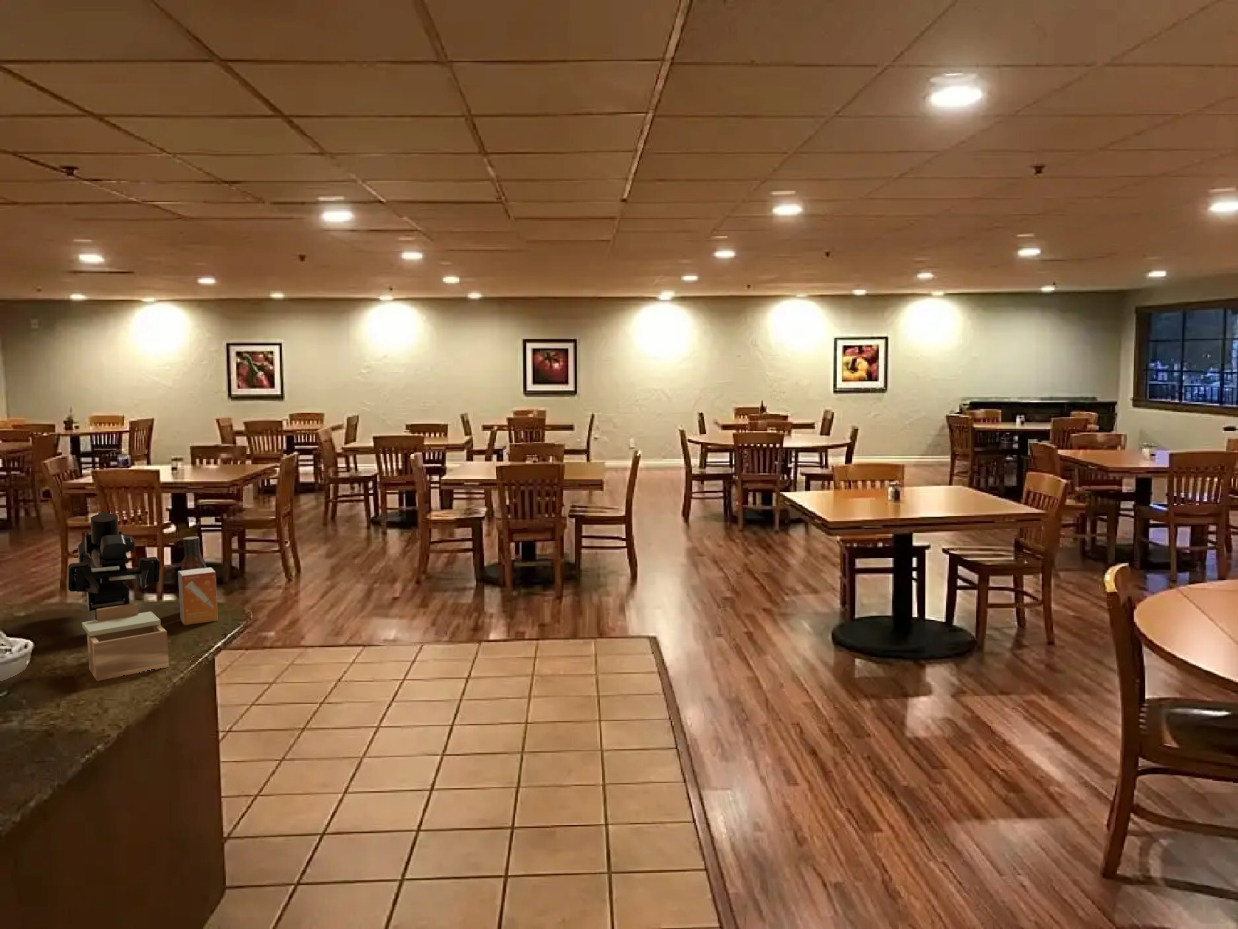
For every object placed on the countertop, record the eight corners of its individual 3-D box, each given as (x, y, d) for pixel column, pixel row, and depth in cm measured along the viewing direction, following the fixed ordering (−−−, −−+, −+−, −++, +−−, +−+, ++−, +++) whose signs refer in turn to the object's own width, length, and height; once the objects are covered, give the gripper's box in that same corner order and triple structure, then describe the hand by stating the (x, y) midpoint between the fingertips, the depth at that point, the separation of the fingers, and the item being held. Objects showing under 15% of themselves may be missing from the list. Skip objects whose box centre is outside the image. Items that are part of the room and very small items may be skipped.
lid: (82, 626, 207) (80, 611, 207) (151, 615, 216) (150, 600, 215) (89, 636, 200) (88, 620, 200) (160, 624, 209) (159, 609, 208)
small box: (184, 626, 236) (181, 575, 235) (180, 620, 241) (177, 570, 240) (218, 621, 241) (215, 571, 239) (213, 615, 246) (211, 566, 244)
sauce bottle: (215, 608, 252) (211, 536, 250) (198, 615, 246) (193, 540, 244) (196, 606, 254) (191, 534, 252) (178, 612, 248) (173, 539, 246)
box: (89, 669, 204) (86, 634, 203) (159, 656, 212) (157, 622, 211) (97, 680, 197) (94, 643, 196) (169, 666, 205) (166, 631, 204)
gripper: (63, 532, 214) (75, 559, 202) (153, 527, 226) (168, 552, 214) (62, 577, 217) (73, 606, 205) (150, 569, 228) (166, 596, 217)
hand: (121, 588), depth 210 cm, fingers open, 9 cm apart
